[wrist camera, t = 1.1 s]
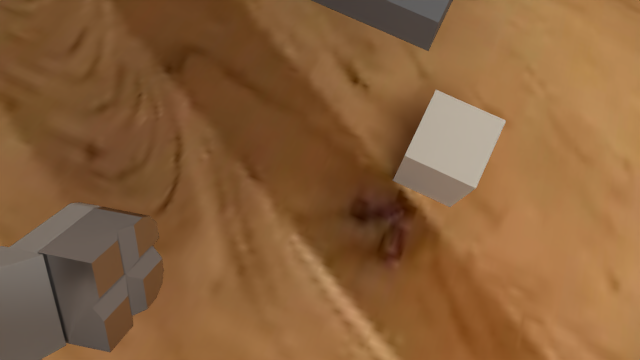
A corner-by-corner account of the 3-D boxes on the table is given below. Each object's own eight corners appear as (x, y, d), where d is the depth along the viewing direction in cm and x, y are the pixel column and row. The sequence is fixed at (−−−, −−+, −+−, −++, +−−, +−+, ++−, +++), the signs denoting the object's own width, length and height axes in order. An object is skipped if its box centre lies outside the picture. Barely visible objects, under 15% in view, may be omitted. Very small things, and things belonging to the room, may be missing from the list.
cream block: (392, 180, 41) (404, 155, 33) (418, 126, 42) (435, 89, 34) (449, 207, 41) (475, 188, 33) (474, 152, 41) (505, 120, 33)
